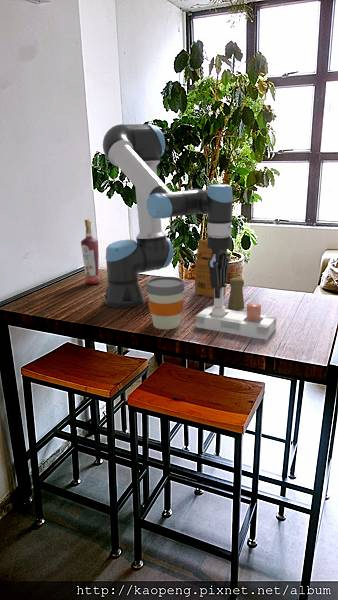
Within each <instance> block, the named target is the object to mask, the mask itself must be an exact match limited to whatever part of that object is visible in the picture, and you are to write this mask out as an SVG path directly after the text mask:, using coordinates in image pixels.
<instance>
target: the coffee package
mask: <svg viewBox="0 0 338 600" xmlns="http://www.w3.org/2000/svg"><path fill="white" fill-rule="evenodd" d="M197 245H198V246H197V252H196V258H195V264H194V265H195V269H194V272H195V273H194V295H195V296H203V297H206V298H214V288H211V281H210V272H209V266H208V261H211V260H212V259H211V255H212V250H211V249H209V248H208V240H205V239H201V238H200V239H198V244H197ZM225 285H227V283H226V284H225ZM223 288H224V294H225V293H226V291H227V289H226V288H227V287H223Z"/></svg>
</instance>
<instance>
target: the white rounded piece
mask: <svg viewBox="0 0 338 600" xmlns="http://www.w3.org/2000/svg"><path fill="white" fill-rule="evenodd" d="M211 307H212V316H216V317H222V318H223V317H224V316H225V309H226V306H225V305H223V307H222V308H220V307H214V305H212V306H211Z"/></svg>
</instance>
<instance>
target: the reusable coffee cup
mask: <svg viewBox="0 0 338 600" xmlns="http://www.w3.org/2000/svg"><path fill="white" fill-rule="evenodd" d="M185 288H186V287H185V282H184V280H183V278H179V277H176V276H158V277H157V276H156V277H153V278H151V279H148V280H147V282H146V292H147V295H148V296H147V302H148V303H147V305H148V310H149V313H150V315H151V318H152V323H153V327H154V328H156V329H158V330H172V329H176V328H178V327H179V326H180V324H181V315H182V312H183V309H184V308H183V307H184V301H185V300H184V299H185V297H184V292H185V290H186V289H185Z"/></svg>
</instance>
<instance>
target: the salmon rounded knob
mask: <svg viewBox="0 0 338 600" xmlns="http://www.w3.org/2000/svg"><path fill="white" fill-rule="evenodd" d="M246 312H247V320H250V321H258V320H260V319H261V315H262V314H261V313H262V305H261V304H260V303H257V302H256V303H255V302H252V303H247V305H246Z"/></svg>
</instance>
